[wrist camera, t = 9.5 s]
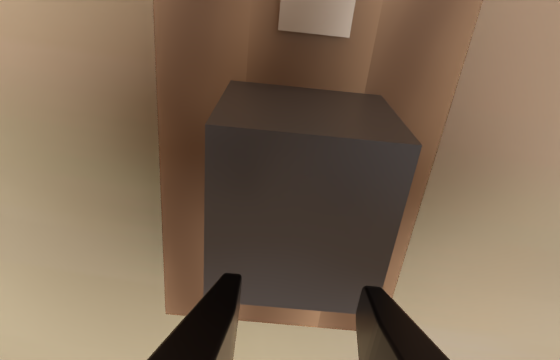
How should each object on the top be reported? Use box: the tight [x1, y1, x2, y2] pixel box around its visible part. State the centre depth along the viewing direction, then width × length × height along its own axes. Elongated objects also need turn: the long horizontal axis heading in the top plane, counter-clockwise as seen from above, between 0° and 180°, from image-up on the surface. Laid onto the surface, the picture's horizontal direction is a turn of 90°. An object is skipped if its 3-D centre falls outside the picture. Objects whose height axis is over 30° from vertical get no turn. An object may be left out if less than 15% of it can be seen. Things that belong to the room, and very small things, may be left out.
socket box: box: [153, 0, 483, 331], centre depth 17 cm, size 11×18×4 cm, turn 174°
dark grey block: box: [203, 80, 422, 314], centre depth 15 cm, size 6×6×7 cm
